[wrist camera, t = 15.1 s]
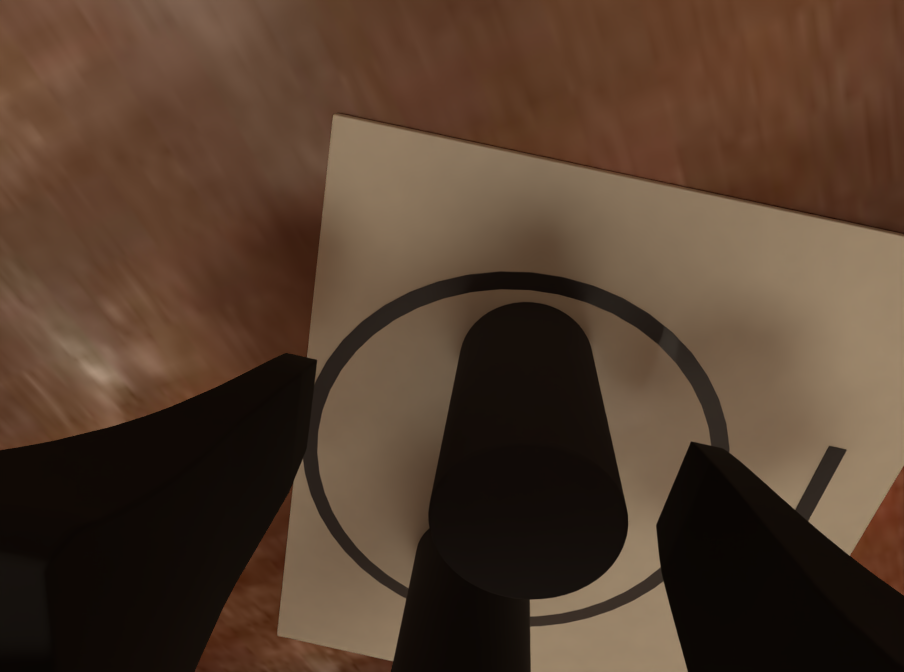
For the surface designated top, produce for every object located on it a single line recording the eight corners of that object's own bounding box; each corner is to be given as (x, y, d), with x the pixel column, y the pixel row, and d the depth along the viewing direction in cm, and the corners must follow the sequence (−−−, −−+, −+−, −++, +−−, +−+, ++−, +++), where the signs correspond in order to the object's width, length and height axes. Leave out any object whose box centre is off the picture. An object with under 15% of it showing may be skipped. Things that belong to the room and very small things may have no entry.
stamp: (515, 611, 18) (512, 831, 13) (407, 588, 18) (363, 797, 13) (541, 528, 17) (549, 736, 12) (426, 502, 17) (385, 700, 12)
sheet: (738, 729, 19) (741, 740, 19) (280, 627, 20) (275, 637, 19) (1015, 257, 13) (1027, 263, 13) (336, 112, 13) (332, 114, 13)
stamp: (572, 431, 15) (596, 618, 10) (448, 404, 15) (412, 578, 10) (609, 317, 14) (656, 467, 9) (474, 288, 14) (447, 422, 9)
